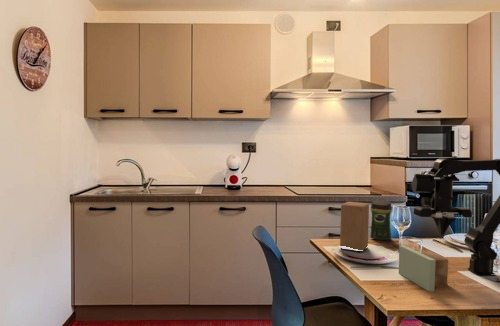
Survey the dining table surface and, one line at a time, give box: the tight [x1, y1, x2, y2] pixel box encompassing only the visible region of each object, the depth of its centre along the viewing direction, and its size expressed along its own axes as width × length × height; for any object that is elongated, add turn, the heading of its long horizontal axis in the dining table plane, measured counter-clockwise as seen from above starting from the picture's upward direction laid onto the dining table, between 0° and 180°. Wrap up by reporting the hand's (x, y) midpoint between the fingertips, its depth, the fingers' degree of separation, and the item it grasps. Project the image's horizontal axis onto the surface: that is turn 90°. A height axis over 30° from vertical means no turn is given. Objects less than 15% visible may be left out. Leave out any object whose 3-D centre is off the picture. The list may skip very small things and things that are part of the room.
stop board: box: [398, 244, 436, 292], centre depth 119 cm, size 2×16×10 cm, turn 10°
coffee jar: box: [369, 200, 393, 241], centre depth 172 cm, size 10×8×19 cm
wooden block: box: [339, 201, 370, 251], centre depth 155 cm, size 10×10×20 cm
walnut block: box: [421, 251, 449, 286], centre depth 120 cm, size 8×8×8 cm
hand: (441, 235), depth 129 cm, fingers closed
